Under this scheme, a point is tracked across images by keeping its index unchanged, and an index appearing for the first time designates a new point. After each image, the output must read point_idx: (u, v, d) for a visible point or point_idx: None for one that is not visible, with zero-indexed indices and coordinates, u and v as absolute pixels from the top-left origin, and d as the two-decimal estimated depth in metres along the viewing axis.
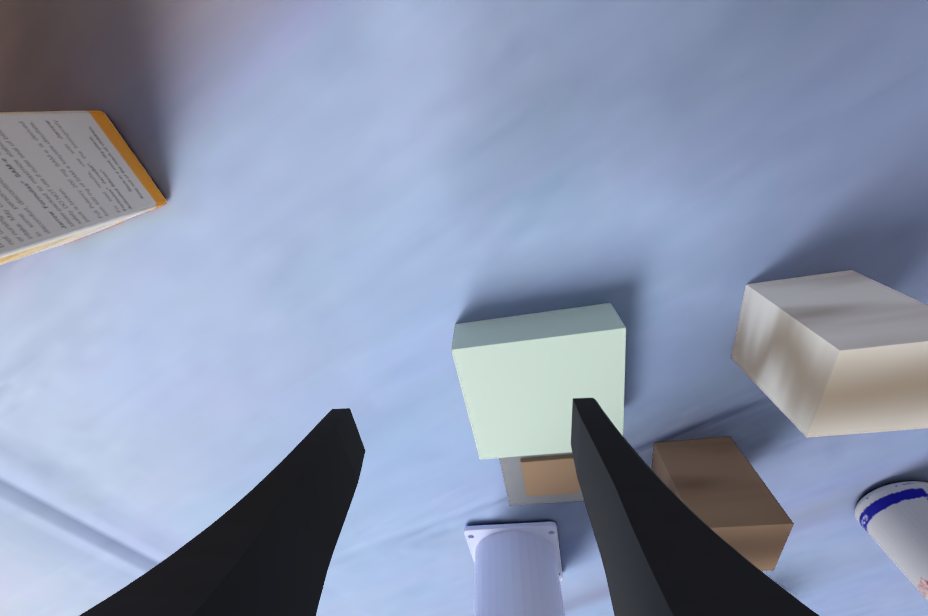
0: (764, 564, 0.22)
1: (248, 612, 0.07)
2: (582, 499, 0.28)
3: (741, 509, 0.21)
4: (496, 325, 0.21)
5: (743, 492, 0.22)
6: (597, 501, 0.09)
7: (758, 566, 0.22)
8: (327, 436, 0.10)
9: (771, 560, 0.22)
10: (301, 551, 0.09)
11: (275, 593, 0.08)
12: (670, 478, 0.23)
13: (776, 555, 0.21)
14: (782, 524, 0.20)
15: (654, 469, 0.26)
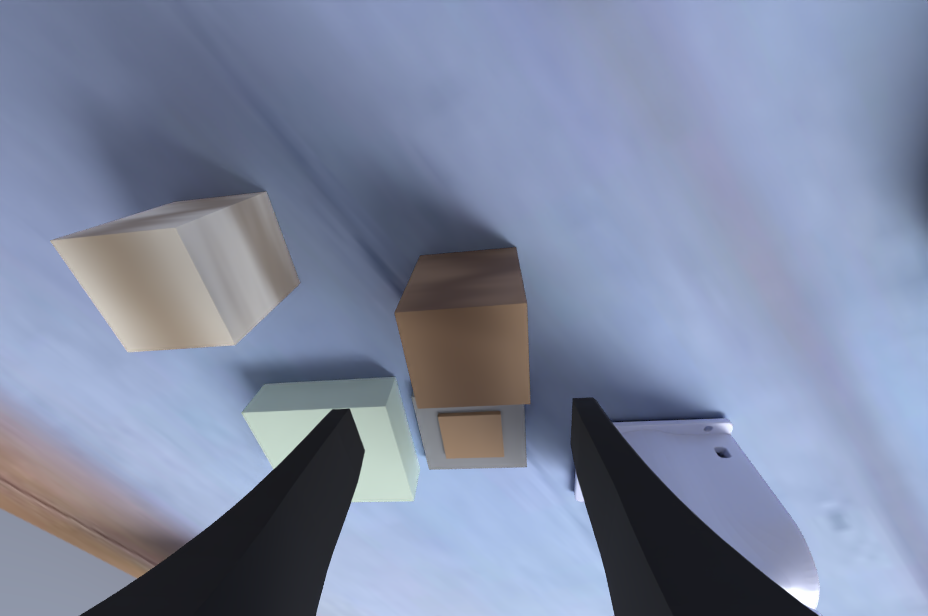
0: (506, 319, 0.14)
1: (248, 612, 0.07)
2: (520, 407, 0.23)
3: None
4: None
5: None
6: (597, 501, 0.09)
7: (514, 326, 0.14)
8: (327, 437, 0.10)
9: (495, 313, 0.14)
10: (301, 551, 0.09)
11: (275, 593, 0.08)
12: None
13: (480, 310, 0.13)
14: (400, 322, 0.14)
15: None
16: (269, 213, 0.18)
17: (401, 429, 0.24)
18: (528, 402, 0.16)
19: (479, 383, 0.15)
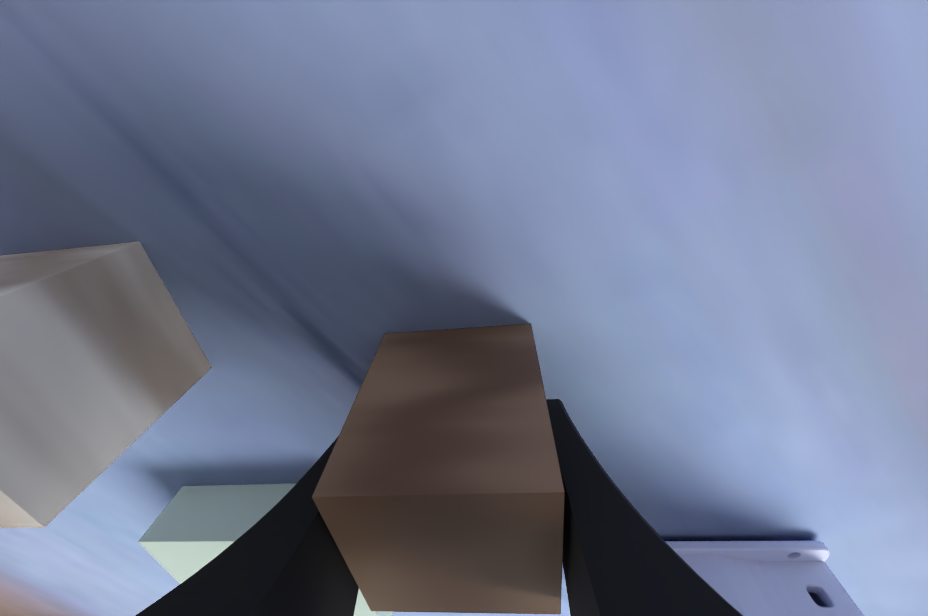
0: (524, 513, 0.07)
1: (297, 613, 0.07)
2: None
3: None
4: None
5: None
6: None
7: (537, 522, 0.07)
8: None
9: (502, 505, 0.07)
10: None
11: (319, 594, 0.08)
12: None
13: (474, 499, 0.07)
14: (326, 509, 0.08)
15: None
16: (145, 275, 0.11)
17: None
18: (557, 612, 0.09)
19: (474, 589, 0.09)
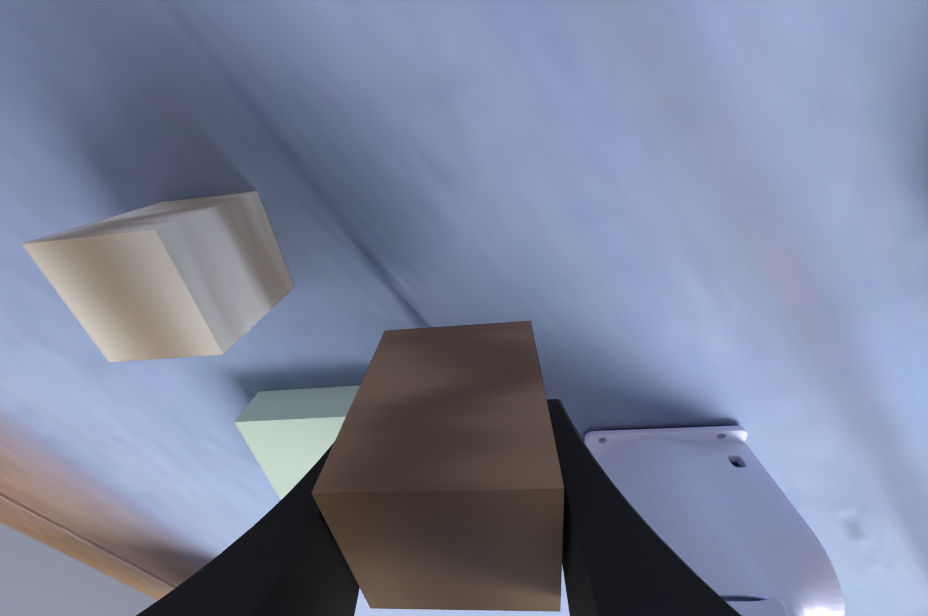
0: (524, 509, 0.07)
1: (298, 613, 0.07)
2: None
3: None
4: None
5: None
6: None
7: (537, 518, 0.07)
8: None
9: (502, 501, 0.07)
10: None
11: (320, 594, 0.08)
12: None
13: (473, 495, 0.07)
14: (325, 505, 0.08)
15: None
16: (260, 214, 0.17)
17: None
18: (556, 609, 0.09)
19: (473, 585, 0.09)
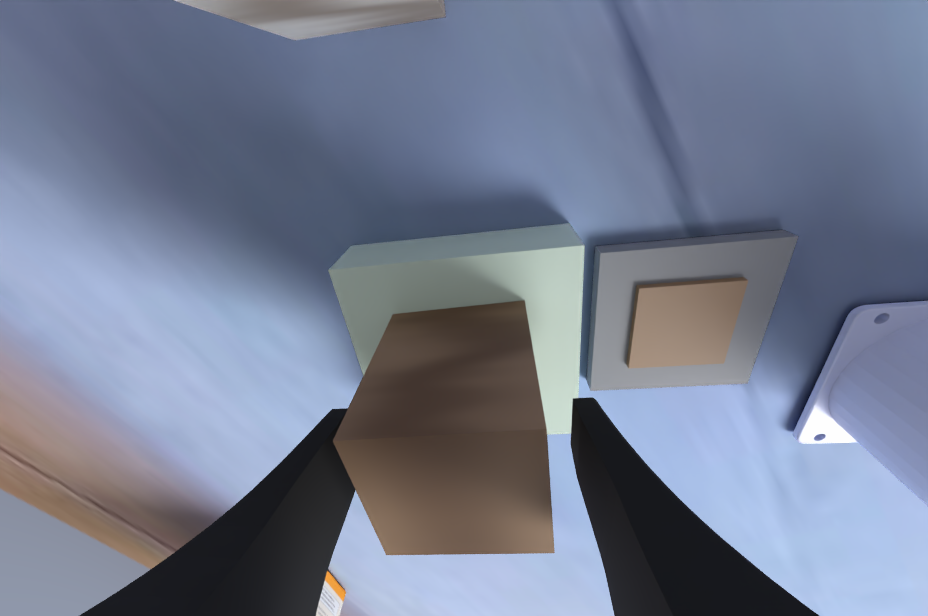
0: (513, 450, 0.08)
1: (248, 612, 0.07)
2: (781, 269, 0.14)
3: None
4: None
5: None
6: (597, 501, 0.09)
7: (526, 459, 0.08)
8: (327, 437, 0.10)
9: (495, 443, 0.08)
10: (301, 551, 0.09)
11: (275, 593, 0.08)
12: None
13: (470, 438, 0.08)
14: (344, 453, 0.09)
15: None
16: None
17: None
18: (551, 551, 0.10)
19: (475, 528, 0.10)
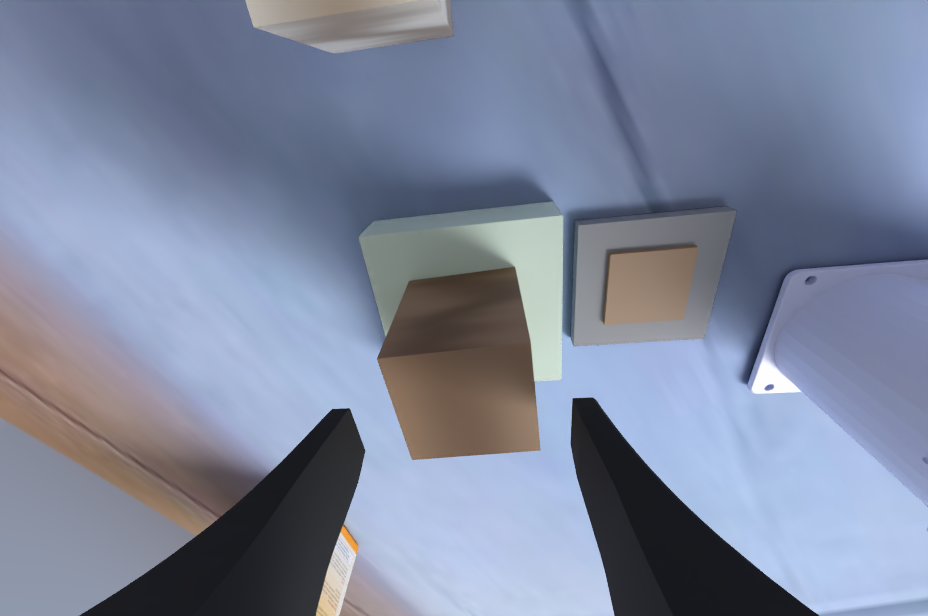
0: (508, 361, 0.12)
1: (248, 612, 0.07)
2: (725, 238, 0.17)
3: None
4: None
5: None
6: (597, 501, 0.09)
7: (517, 367, 0.12)
8: (327, 436, 0.10)
9: (494, 355, 0.12)
10: (301, 551, 0.09)
11: (275, 593, 0.08)
12: None
13: (477, 352, 0.12)
14: (385, 369, 0.12)
15: None
16: None
17: None
18: (538, 448, 0.14)
19: (480, 431, 0.13)
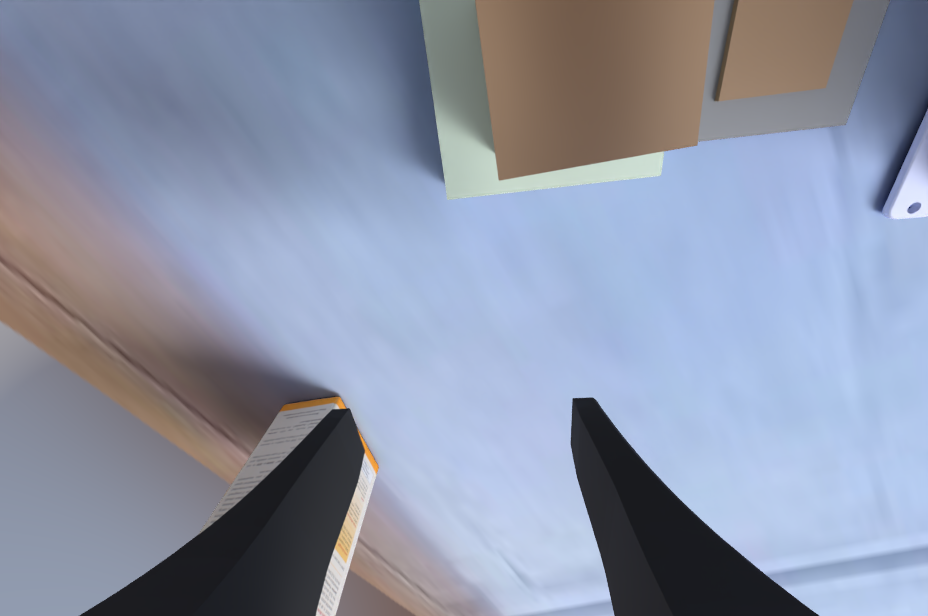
0: None
1: (248, 612, 0.07)
2: None
3: None
4: None
5: None
6: (597, 501, 0.09)
7: None
8: (327, 436, 0.10)
9: None
10: (301, 551, 0.09)
11: (275, 593, 0.08)
12: None
13: None
14: None
15: None
16: None
17: None
18: (694, 142, 0.09)
19: (611, 105, 0.09)
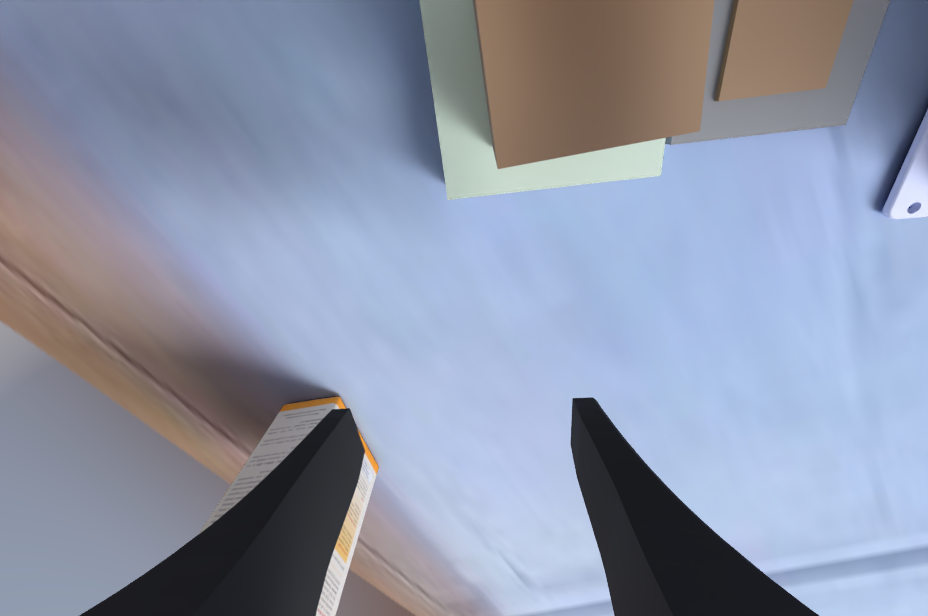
0: None
1: (248, 612, 0.07)
2: None
3: (480, 43, 0.09)
4: None
5: (476, 18, 0.10)
6: (597, 501, 0.09)
7: None
8: (327, 436, 0.10)
9: None
10: (301, 551, 0.09)
11: (275, 593, 0.08)
12: None
13: None
14: None
15: None
16: None
17: None
18: (696, 127, 0.09)
19: (612, 90, 0.09)
